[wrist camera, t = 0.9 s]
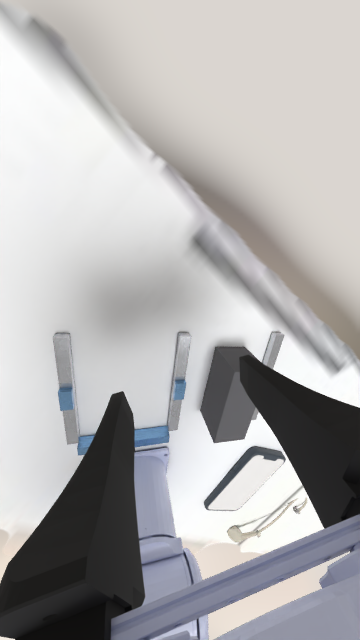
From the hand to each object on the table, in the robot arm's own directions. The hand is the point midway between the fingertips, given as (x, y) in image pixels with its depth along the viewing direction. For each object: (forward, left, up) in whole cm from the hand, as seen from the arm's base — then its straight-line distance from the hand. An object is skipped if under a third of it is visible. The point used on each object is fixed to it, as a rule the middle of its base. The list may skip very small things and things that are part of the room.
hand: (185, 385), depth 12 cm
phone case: (-32, -18, -11) cm, 38 cm away
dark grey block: (-9, -9, -10) cm, 16 cm away
